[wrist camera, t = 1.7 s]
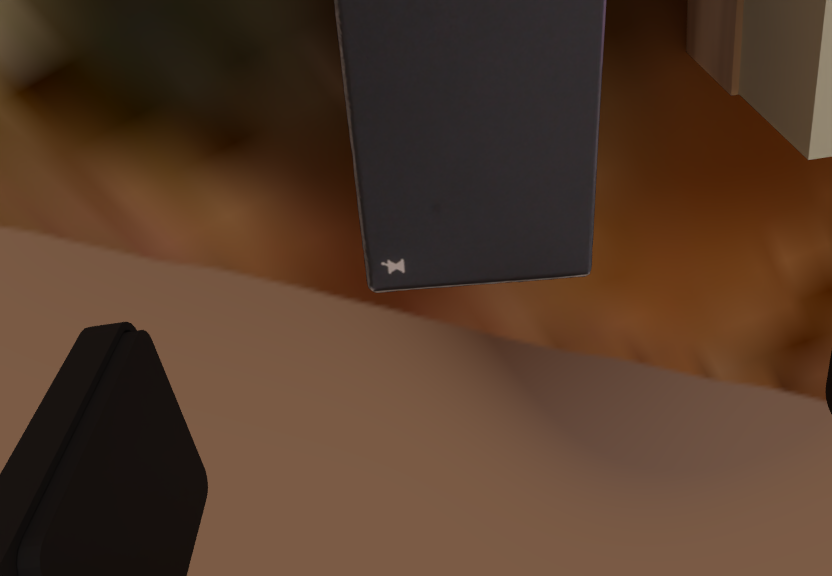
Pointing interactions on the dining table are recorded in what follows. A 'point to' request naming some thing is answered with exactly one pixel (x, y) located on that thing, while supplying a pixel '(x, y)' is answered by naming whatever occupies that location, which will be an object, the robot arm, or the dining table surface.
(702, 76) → the dining table surface
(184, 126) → the dining table surface
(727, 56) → the tower base
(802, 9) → the tower top
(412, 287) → the small box
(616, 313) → the dining table surface
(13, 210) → the dining table surface
